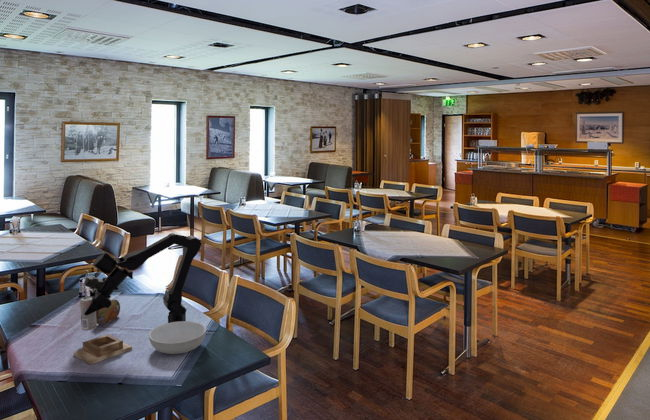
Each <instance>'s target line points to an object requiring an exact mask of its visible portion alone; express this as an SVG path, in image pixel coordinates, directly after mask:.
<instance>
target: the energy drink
mask: <svg viewBox="0 0 650 420" xmlns="http://www.w3.org/2000/svg"><path fill="white" fill-rule="evenodd" d="M91 303H92V296H90V295H89V296H84V297H81V298H80V300H79V308H80V324H81V330H83V331H86V332H87V331H93V330H95V329H96V328H97V327H98V324H97V321H96V311H95V312H93V313H91V314H89V315H87V316H86V315H85V314H84V313H85V312H86V310H87V309H88V307H89V306H90V304H91Z"/></svg>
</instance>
